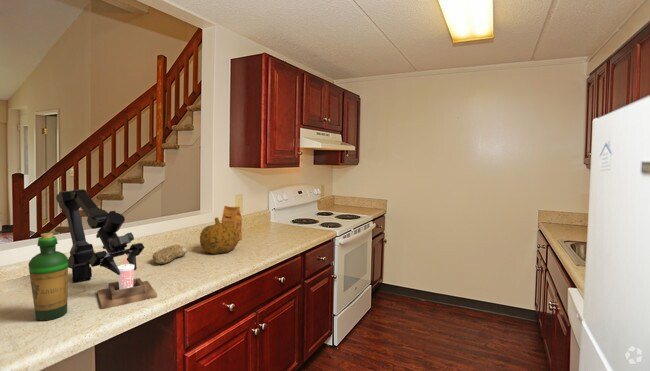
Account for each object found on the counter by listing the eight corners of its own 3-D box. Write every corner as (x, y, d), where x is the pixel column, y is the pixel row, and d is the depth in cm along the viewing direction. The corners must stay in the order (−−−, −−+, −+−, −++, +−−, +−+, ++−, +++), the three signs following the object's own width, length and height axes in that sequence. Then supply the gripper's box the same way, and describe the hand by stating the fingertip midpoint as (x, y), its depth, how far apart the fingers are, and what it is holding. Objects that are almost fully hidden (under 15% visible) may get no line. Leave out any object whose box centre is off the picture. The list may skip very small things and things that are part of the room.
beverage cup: (129, 285, 142) (127, 250, 140) (138, 288, 139) (137, 253, 137) (113, 290, 136) (112, 254, 135) (123, 293, 133) (122, 256, 132)
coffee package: (228, 237, 235) (227, 204, 233) (244, 239, 230) (243, 205, 228) (218, 240, 225) (217, 206, 223) (235, 242, 221) (234, 207, 219)
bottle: (26, 325, 113) (20, 238, 110) (37, 311, 123) (32, 231, 120) (66, 319, 117) (62, 235, 115) (74, 306, 127) (70, 229, 124)
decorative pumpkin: (242, 252, 195) (238, 216, 193) (202, 259, 188) (197, 222, 186) (238, 245, 214) (234, 212, 212) (201, 251, 207) (197, 217, 205)
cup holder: (102, 309, 125) (101, 297, 125) (97, 293, 139) (96, 282, 139) (157, 297, 136) (156, 286, 135) (147, 283, 150) (147, 273, 150)
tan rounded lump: (173, 256, 195) (141, 258, 177) (177, 242, 195) (145, 243, 177) (190, 264, 189) (159, 267, 171) (194, 250, 189) (163, 251, 171)
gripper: (92, 231, 129) (110, 266, 125) (140, 223, 145) (158, 253, 141) (81, 249, 134) (99, 283, 129) (130, 239, 150) (147, 269, 146)
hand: (127, 271), depth 136 cm, fingers closed on beverage cup, 6 cm apart
